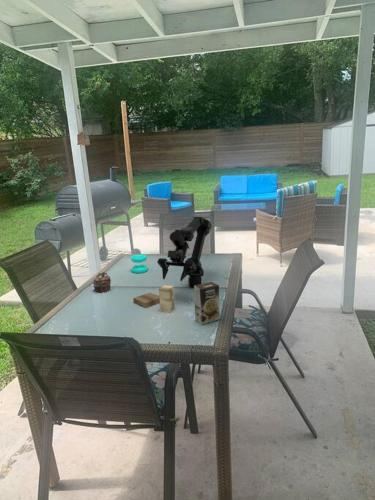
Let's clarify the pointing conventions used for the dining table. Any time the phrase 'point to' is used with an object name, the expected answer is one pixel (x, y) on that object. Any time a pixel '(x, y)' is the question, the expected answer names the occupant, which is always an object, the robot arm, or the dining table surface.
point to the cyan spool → (139, 259)
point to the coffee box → (206, 302)
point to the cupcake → (102, 283)
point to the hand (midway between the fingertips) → (172, 279)
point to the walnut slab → (147, 300)
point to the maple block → (166, 298)
